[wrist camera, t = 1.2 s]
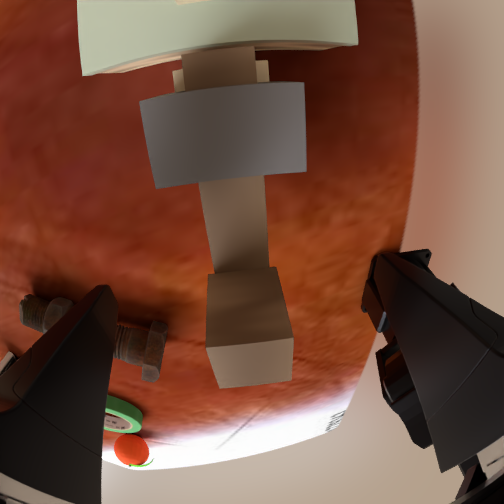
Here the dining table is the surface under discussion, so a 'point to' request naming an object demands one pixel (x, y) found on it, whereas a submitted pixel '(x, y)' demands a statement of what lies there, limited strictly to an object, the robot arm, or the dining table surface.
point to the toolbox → (225, 124)
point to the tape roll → (122, 416)
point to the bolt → (127, 339)
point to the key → (240, 253)
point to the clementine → (131, 450)
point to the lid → (203, 26)
